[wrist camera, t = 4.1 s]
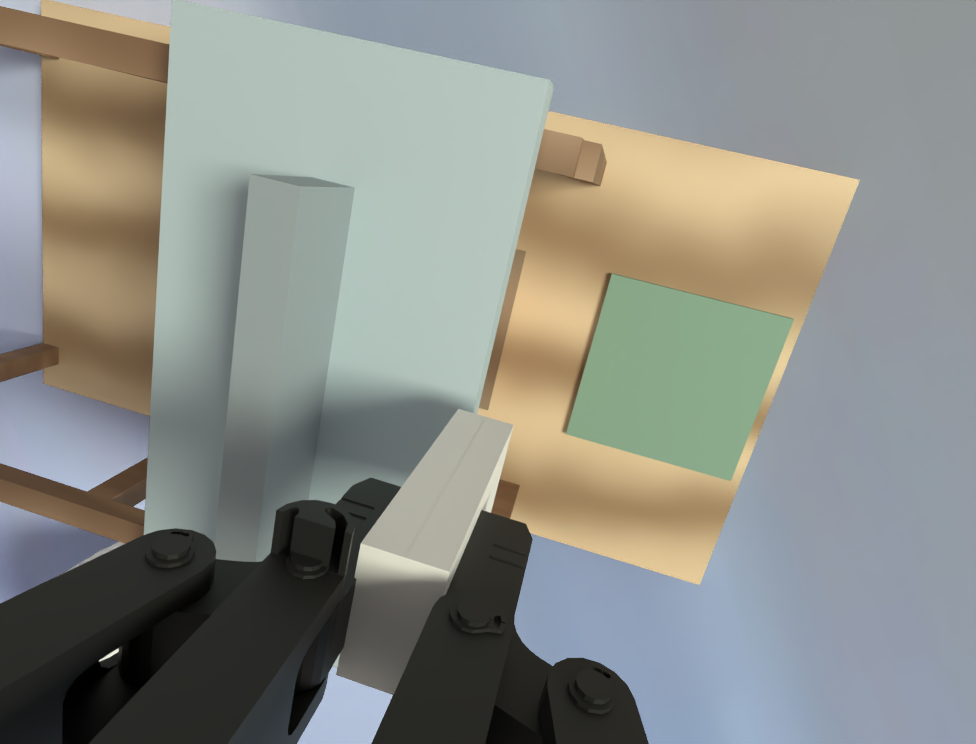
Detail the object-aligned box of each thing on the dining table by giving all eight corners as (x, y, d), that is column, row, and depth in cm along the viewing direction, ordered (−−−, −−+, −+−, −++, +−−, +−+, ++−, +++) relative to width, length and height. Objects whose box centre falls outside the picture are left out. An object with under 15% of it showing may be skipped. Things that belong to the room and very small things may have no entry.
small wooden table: (696, 571, 32) (743, 790, 20) (61, 377, 37) (-202, 464, 25) (849, 180, 26) (1043, 169, 14) (62, 5, 31) (-287, -114, 19)
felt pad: (729, 478, 29) (730, 481, 29) (566, 431, 30) (565, 434, 30) (791, 318, 27) (794, 319, 27) (611, 273, 28) (611, 273, 28)
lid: (417, 670, 22) (375, 771, 18) (159, 582, 23) (69, 660, 19) (553, 86, 16) (534, 52, 12) (196, 9, 17) (75, -44, 13)
